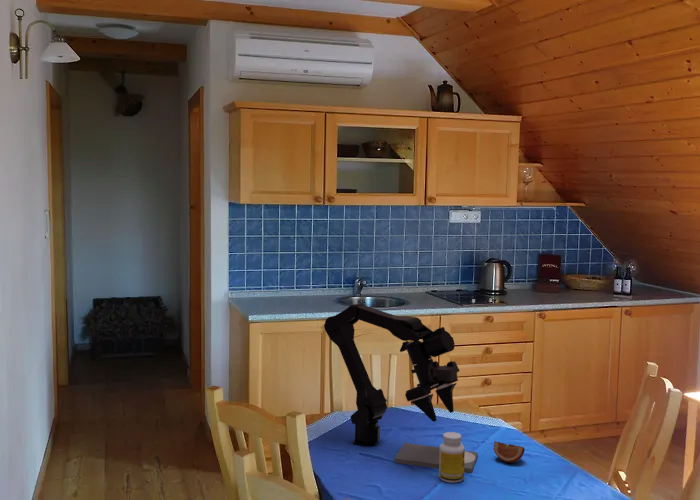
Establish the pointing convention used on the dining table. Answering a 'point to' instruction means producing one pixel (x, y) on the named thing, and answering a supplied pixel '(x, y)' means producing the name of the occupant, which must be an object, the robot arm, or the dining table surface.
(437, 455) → the panel board
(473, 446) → the dining table surface
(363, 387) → the robot arm
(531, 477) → the dining table surface
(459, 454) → the pill bottle
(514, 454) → the fruit slice
